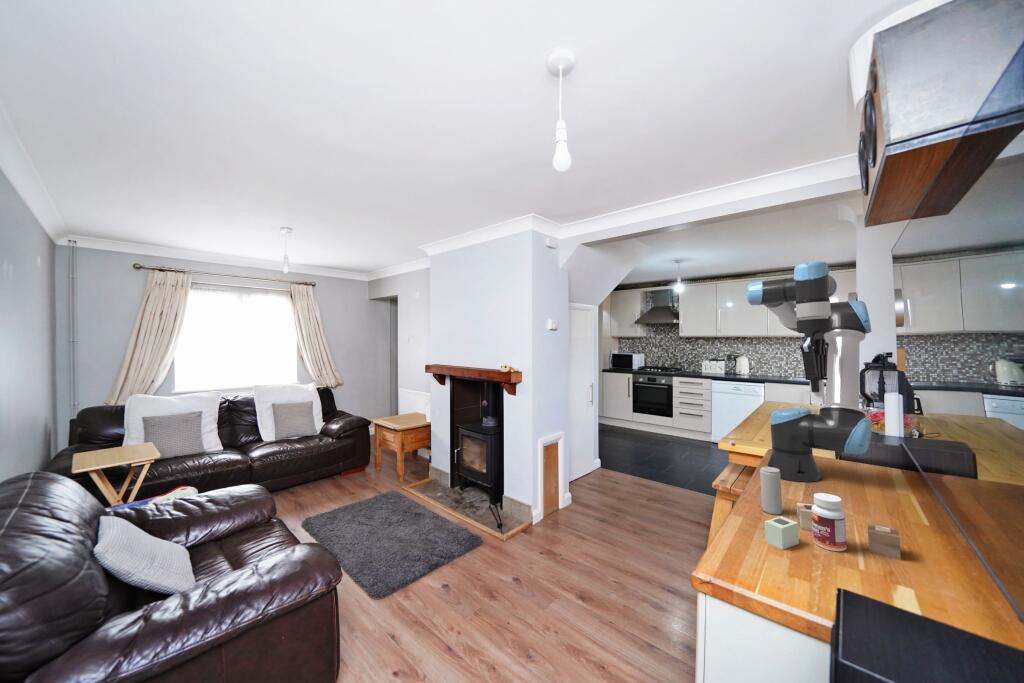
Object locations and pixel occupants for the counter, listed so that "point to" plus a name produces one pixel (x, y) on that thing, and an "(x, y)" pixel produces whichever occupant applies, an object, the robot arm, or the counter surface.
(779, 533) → the sage block
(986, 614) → the counter surface
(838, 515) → the pill bottle
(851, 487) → the counter surface
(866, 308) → the robot arm
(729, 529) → the counter surface
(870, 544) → the walnut block
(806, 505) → the beech block
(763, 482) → the beverage can
